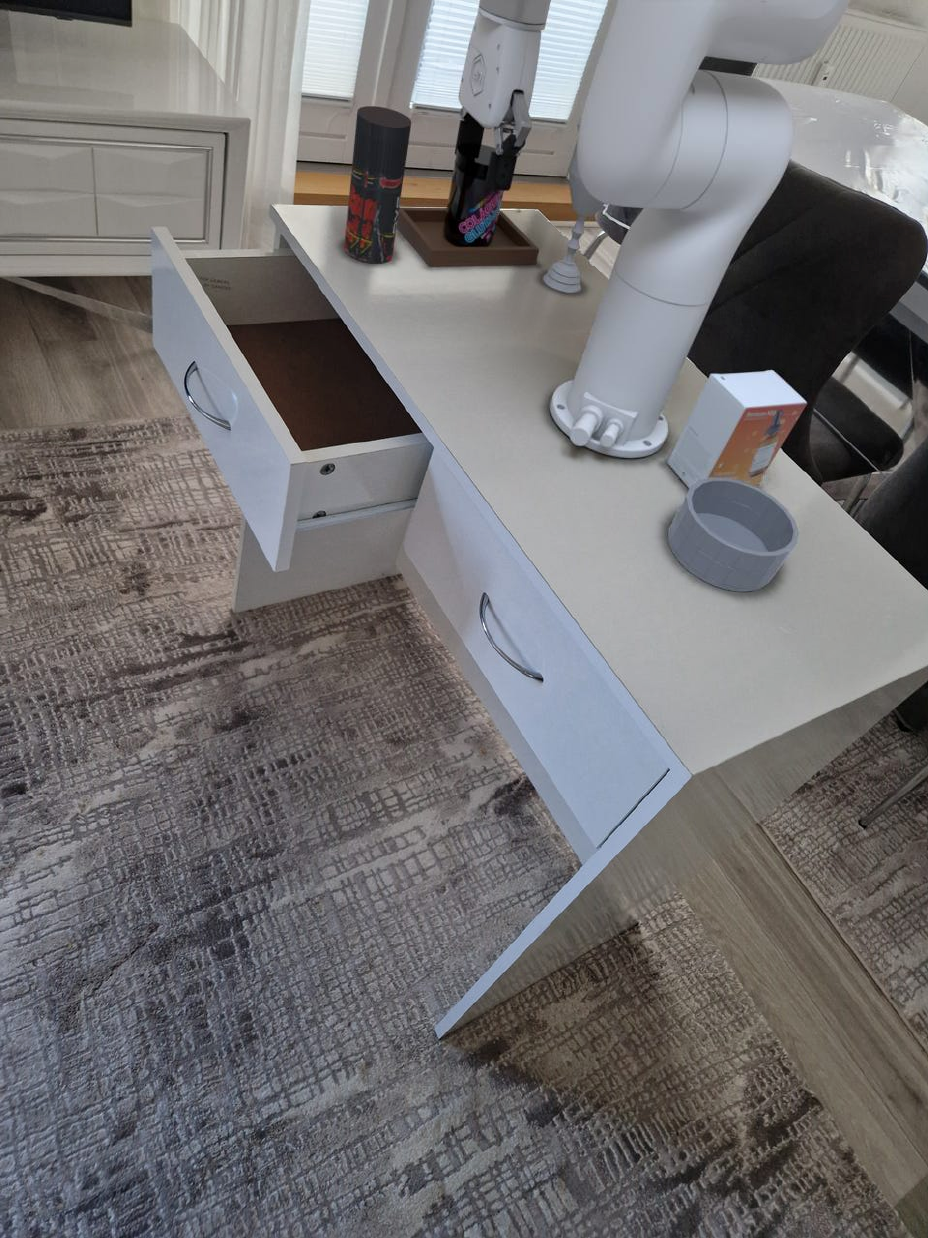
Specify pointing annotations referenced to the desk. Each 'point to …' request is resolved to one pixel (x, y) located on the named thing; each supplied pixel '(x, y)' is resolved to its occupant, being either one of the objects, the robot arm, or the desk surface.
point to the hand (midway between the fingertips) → (481, 172)
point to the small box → (736, 427)
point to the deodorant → (376, 183)
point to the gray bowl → (732, 534)
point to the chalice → (573, 232)
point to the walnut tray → (438, 252)
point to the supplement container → (471, 199)
